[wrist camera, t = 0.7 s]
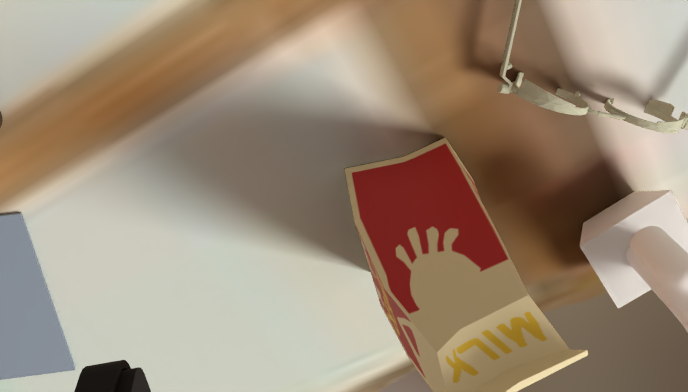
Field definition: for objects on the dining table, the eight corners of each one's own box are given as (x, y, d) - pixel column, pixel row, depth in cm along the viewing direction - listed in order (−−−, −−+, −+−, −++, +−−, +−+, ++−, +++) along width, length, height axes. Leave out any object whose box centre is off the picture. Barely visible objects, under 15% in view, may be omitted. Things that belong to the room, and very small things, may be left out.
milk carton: (371, 272, 50) (434, 503, 33) (338, 169, 46) (390, 373, 28) (486, 237, 50) (611, 451, 32) (464, 130, 45) (596, 311, 28)
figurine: (638, 156, 48) (783, 274, 35) (681, 241, 52) (825, 375, 39) (552, 210, 49) (660, 343, 36) (601, 289, 54) (714, 433, 40)
